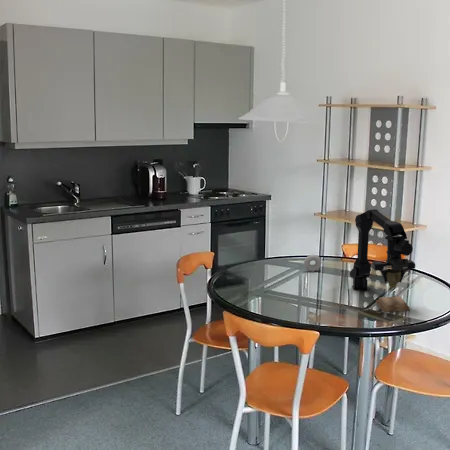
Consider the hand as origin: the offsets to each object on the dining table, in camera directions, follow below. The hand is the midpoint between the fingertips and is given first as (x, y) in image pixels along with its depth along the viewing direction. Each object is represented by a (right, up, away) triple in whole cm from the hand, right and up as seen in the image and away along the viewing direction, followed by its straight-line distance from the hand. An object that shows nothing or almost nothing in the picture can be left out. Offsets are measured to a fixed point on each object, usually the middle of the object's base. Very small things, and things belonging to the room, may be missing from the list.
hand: (392, 282), depth 269 cm
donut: (-28, 0, +61) cm, 67 cm away
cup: (0, -2, 0) cm, 2 cm away
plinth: (0, -11, +2) cm, 12 cm away
